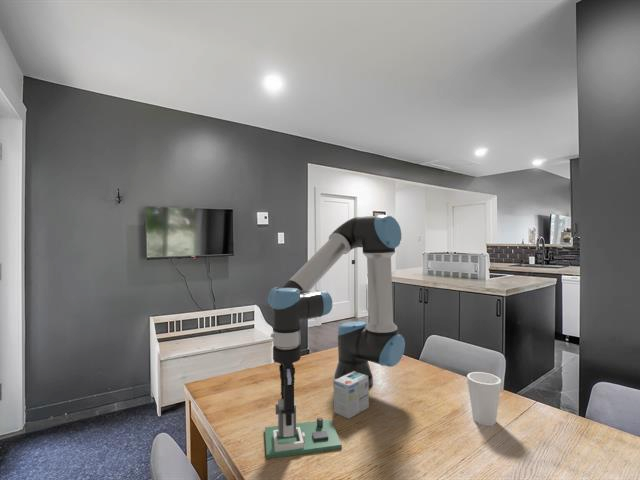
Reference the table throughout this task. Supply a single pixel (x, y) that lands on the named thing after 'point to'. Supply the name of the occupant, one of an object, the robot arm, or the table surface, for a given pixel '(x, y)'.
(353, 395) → the light bulb box
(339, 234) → the robot arm
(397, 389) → the table surface
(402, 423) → the table surface
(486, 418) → the foam cup
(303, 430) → the board
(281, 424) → the block
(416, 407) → the table surface
